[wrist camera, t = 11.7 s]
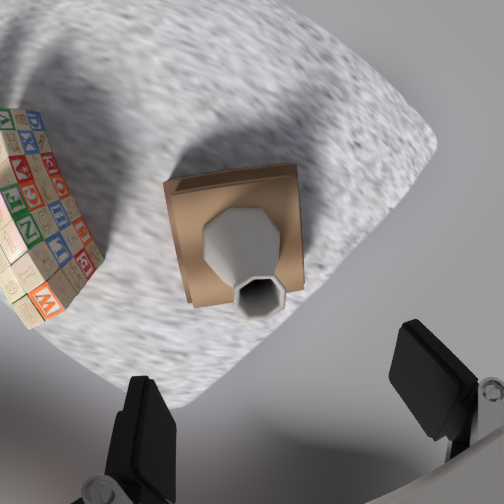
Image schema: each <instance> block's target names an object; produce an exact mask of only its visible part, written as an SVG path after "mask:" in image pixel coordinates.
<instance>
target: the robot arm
mask: <svg viewBox="0 0 504 504" xmlns="http://www.w3.org/2000/svg"><path fill="white" fill-rule="evenodd" d="M389 380H390V382H391V384H392V385H393V387H394V388H395V389H396V391H397V392H398V394H399V395H400V397H401V398H402V399H403V401H404V402H405V404H406V405H407V407H408V408H409V409H410V411H411V412H412V414H413V415H414V417H415V418H416V420H417V421H418V423H419V424H420V425H421V427H422V428H423V430H424V431H425V433H426V434H427V436H428V437H430V438H431V437H432V438H433V440H434V441H437V440H439V439H441V438H442V437H444V436H445V435H446V436H447V438H448V446H447V451H446V457H445V462H444V464H443V465H441V466H440V467H438V468H436V469H435V470H433V471H431V472H430V473H428V474H426V475H424V476H423V477H421V478H419V479H417V480H415V481H413V482H411V483H410V484H407V485H406V486H404V487H401V488H400V489H398V490H395V491H393V492H391V493H389V494H387V495H384V496H382V497H380V498H377V499H375V500H373V501H370V502H368V503H365V504H504V382H503V381H501V380H499V379H498V378H494V377H488V378H486V379H483V380H482V381H481V382H480V384H479V383H478V382H477V381H478V378H477V377H476V376H475V375H474V374H473V373H472V372H471V371H470V370H469V369H468V368H467V367H466V366H465V365H464V364H463V363H462V362H461V361H460V360H459V359H458V358H457V357H456V356H455V355H454V354H453V353H452V352H451V351H450V350H449V349H448V348H447V347H446V346H445V345H444V344H443V343H442V342H441V341H440V340H439V339H438V338H437V337H436V336H435V335H434V334H433V333H432V332H431V331H429V329H427V328H426V327H425V326H424V325H423V324H422V323H421V322H420V321H419V320H417V319H414V320H411V321H408V322H405V323H403V324H402V327H401V328H400V329H399V333H398V338H397V343H396V347H395V351H394V355H393V360H392V364H391V368H390V371H389ZM175 478H176V423H175V421H174V419H173V417H172V415H171V413H170V411H169V409H168V408H167V406H166V404H165V402H164V400H163V398H162V396H161V394H160V392H159V390H158V388H157V385H156V383H155V381H154V380H153V379H149V377H148V376H132V377H131V379H130V383H129V387H128V391H127V395H126V399H125V404H124V408H123V411H119V412H118V413H117V415H116V419H115V423H114V428H113V433H112V437H111V442H110V447H109V452H108V457H107V462H106V468H105V474H104V475H103V474H97V475H93V476H90V477H89V478H88V479H87V480H85V482H84V483H83V485H82V488H81V496H82V497H81V498H79V499H78V500H76V501H75V502H73V503H71V504H174V503H175V501H176V489H175V488H176V486H175V485H176V482H175V481H176V479H175Z"/></svg>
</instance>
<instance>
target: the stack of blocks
mask: <svg viewBox="0 0 504 504" xmlns="http://www.w3.org/2000/svg"><path fill="white" fill-rule="evenodd" d="M103 262H104V258H103V257H102V255H101V253H100V251H99V249H98V248H97V246H96V244H95V242H94V240H93V237H92V235H91V233H90V231H89V229H88V228H87V226H86V224H85V222H84V220H83V218H82V216H81V214H80V211H79V209H78V207H77V205H76V203H75V201H74V199H73V197H72V195H70V192H69V190H68V188H67V186H66V184H65V181H64V179H63V177H62V175H61V174H60V171H59V168H58V166H57V163H56V161H55V158H54V156H53V154H52V149H51V146H50V144H49V141H48V138H47V136H46V133H45V131H44V127H43V125H42V122H41V119H40V116H39V113H38V112H35V111H28V110H23V109H15V108H10V109H7V108H0V286H1V288H2V289H3V291H4V293H5V294H6V296H7V298H8V299H9V301H10V302H11V303H12V306H13V308H14V310H15V311H16V313H17V314H18V316H19V317H20V319H21V320H22V321H23V323H24V324H25V326H26V327H27V328H28V329H31V328H33V327H35V326H37V325H39V324H41V323H43V322H45V320H49V319H50V318H52V317H54V316H56V315H58V314H60V313H62V312H64V311H65V310H66V309H67V308H68V306H69V305H70V303H71V302H72V301H73V299H74V298H75V297H76V296H77V295H78V294H79V292H80V291H81V290H82V288H83V287H84V286H85V285H86V283H87V281H88V280H89V279H90V278H91V276H92V275H93V274H94V272H95V271H96V270H97V269H98V268H99V266H100V265H101V264H102V263H103Z"/></svg>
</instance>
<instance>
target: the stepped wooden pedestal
mask: <svg viewBox="0 0 504 504" xmlns="http://www.w3.org/2000/svg"><path fill="white" fill-rule="evenodd" d="M163 186H164V192H165V198H166V203H167V209H168V214H169V220H170V225H171V230H172V235H173V240H174V245H175V249H176V254H177V259H178V263H179V268H180V272H181V277H182V281H183V285H184V289H185V293H186V297H187V302H188V303H193V306H194V308H199V307H206V306H213V305H219V304H225V303H232V302H233V287H232V286H230V285H228V284H226V283H224V282H223V281H222V280H221V279H220V278H219V276H218V275H217V274H216V273H215V272H214V271H213V270H212V268H211V267H210V266H209V265H208V264H207V263H206V261H205V260H204V259H203V231H202V228H203V227H204V226H205V225H207V224H208V223H209V222H211V221H212V220H213V219H215V218H216V217H217V216H219V215H220V214H221V213H223V212H224V211H225V210H227V209H228V208H263V209H264V211H265V212H266V213H267V215H268V216H269V218H270V219H271V220H272V222H273V223H274V225H275V226H276V227H277V229H278V230H279V232H280V248H279V263H278V266H277V268H276V270H275V275H276V276H277V277H278V279H279V280H280V281H281V283H282V284H283V285H284V286H285V288H286V293H289V292H294V291H299V290H304V284H305V279H304V258H303V240H302V224H301V210H300V197H299V185H298V174H297V164H291V163H279V164H269V165H260V166H252V167H244V168H236V169H229V170H222V171H215V172H208V173H202V174H196V175H190V176H184V177H179V178H173V179H168V180H167V181H165V182H164V183H163Z"/></svg>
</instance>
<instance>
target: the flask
mask: <svg viewBox="0 0 504 504" xmlns="http://www.w3.org/2000/svg"><path fill="white" fill-rule="evenodd" d="M202 231H203V259H204V260H205V261H206V263H207V264H208V265H209V266H210V267H211V268H212V270H213V271H214V272H215V273H216V274H217V275H218V276H219V278H220V279H221V280H222V281H223V282H224V283H226V284H228V285H230V286H232V287H233V304H234V308H235V309H236V310H237V311H238V312H239V313H240V314H241V315H242V316H243V318H244V319H245V320H246V321H257V320H268V319H269V318H271V317H272V316H274V315H275V314H277V313H278V312H280V311H281V310H283V309H284V308H285V298H286V288H285V286H284V285H283V284H282V283H281V281H280V280H279V279H278V277H277V276H276V275H275V270H276V268H277V266H278V263H279V248H280V232H279V230H278V229H277V227H276V226H275V225H274V223H273V222H272V220H271V219H270V218H269V216H268V215H267V213H266V212H265V211H264V209H263V208H228V209H227V210H225V211H224V212H223V213H221V214H220V215H219V216H217V217H216V218H215V219H213V220H212V221H211V222H209V223H208V224H207V225H205V226H204V227H203V228H202Z"/></svg>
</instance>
